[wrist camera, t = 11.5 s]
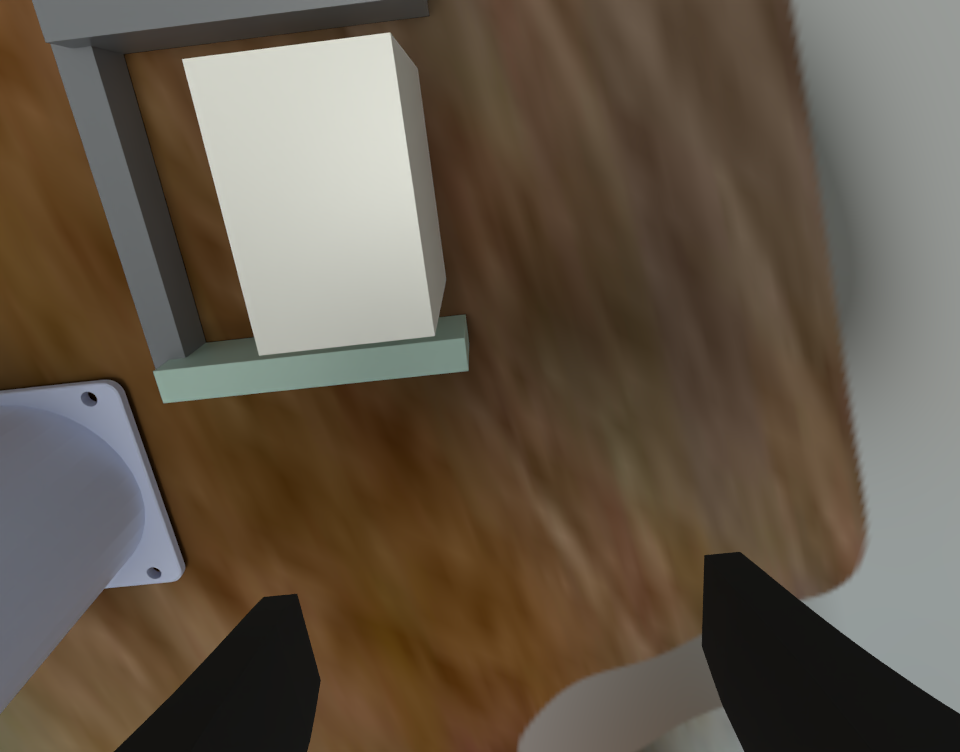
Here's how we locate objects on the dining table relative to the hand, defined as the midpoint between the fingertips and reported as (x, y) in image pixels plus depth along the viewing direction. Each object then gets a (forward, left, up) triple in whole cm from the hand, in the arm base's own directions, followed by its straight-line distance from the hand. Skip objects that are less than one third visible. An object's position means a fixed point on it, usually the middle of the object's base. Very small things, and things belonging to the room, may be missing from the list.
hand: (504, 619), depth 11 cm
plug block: (-3, +7, -10) cm, 13 cm away
